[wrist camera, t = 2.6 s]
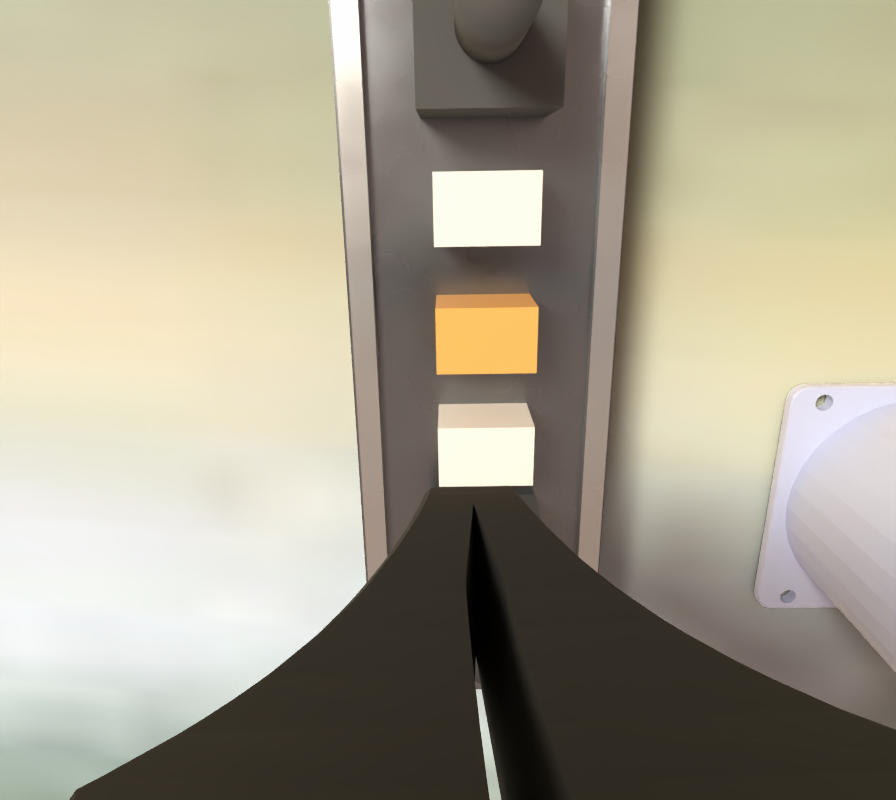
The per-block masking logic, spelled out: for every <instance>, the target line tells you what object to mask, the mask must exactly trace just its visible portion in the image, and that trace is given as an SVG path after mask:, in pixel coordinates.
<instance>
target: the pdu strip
mask: <svg viewBox="0 0 896 800" xmlns="http://www.w3.org/2000/svg"><path fill="white" fill-rule="evenodd" d="M328 4H329V19H330V34H331V50H332V65H333V80H334V95H335V110H336V125H337V141H338V156H339V171H340V186H341V201H342V217H343V232H344V247H345V262H346V277H347V292H348V308H349V323H350V338H351V353H352V368H353V383H354V399H355V414H356V429H357V444H358V459H359V475H360V490H361V505H362V520H363V535H364V550H365V566H366V581H367V582H368V581H369V579H370V578H371V577H372V576H373V574H374V573H375V572H376V571H377V569H378V568H379V567H380V566H381V564H382V563H383V562H384V561H385V559H386V558H387V557H388V555H389V554H390V552H391V551H392V549H393V548H394V546H395V545H396V543H397V542H398V541H399V539H400V538H401V536H402V535H403V533H404V532H405V530H406V529H407V527H408V525H409V523H410V522H411V520H412V518H413V517H414V515H415V513H416V511H417V509H418V507H419V505H420V503H421V501H422V499H423V496H424V494H425V493H426V492H427V491H428V490H429V489H431V488H451V487H439V461H438V413H439V404H492V403H527V406H528V409H529V412H530V415H531V418H532V421H533V423H534V426H535V437H534V469H533V486H510V487H511V488H512V489H513V490H515V491H516V492H517V494H518V495H535V498H536V502H537V506H538V509H539V513H540V517H541V520H542V521H543V522H544V523H545V525H546V526H547V527H548V528H549V529H550V530H551V531H552V532H553V533H554V534H555V535H556V536H557V537H558V538H559V539H560V540H562V541H563V542H564V543H565V544H566V545H567V546H568V547H569V548H570V549H571V550H572V551H573V552H574V553H575V554H576V555H577V556H578V557H579V558H581V559H582V560H583V561H584V562H585V563H586V564H588V565H589V566H590V567H591V568H593V569H594V570H595V571H596V572H597V573H598V571H599V557H600V543H601V530H602V516H603V502H604V488H605V474H606V460H607V447H608V433H609V419H610V405H611V391H612V377H613V363H614V350H615V336H616V322H617V308H618V294H619V280H620V267H621V253H622V239H623V225H624V211H625V197H626V184H627V170H628V156H629V142H630V128H631V114H632V101H633V87H634V73H635V59H636V45H637V31H638V17H639V4H640V0H568V18H567V43H566V68H565V92H564V107H562V108H561V109H559V110H557V111H556V112H554V113H552V114H550V115H549V116H547V117H485V118H423V119H420V117H419V115H418V113H417V111H416V109H415V75H414V40H413V5H412V0H328ZM514 170H543V185H542V217H541V245H540V246H473V247H434V226H433V180H432V172H450V171H514ZM468 294H530V295H531V297H532V298H533V300H534V301H535V303H536V304H537V305H538V307H539V311H538V343H537V373H512V374H440V375H437V367H436V320H435V306H436V296H437V295H468ZM461 487H481V486H461ZM475 688H476V689H482V688H481V684H480V683H477V682H475Z"/></svg>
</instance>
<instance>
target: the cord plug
mask: <svg viewBox="0 0 896 800" xmlns="http://www.w3.org/2000/svg"><path fill="white" fill-rule="evenodd" d="M412 5H413V40H414V75H415V109H416V111H417V113H418V115H419V117H420V119H423V118H485V117H547V116H549V115H550V114H552V113H554V112H556V111H557V110H559V109H561V108H562V107H564V92H565V68H566V43H567V18H568V0H412Z"/></svg>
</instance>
